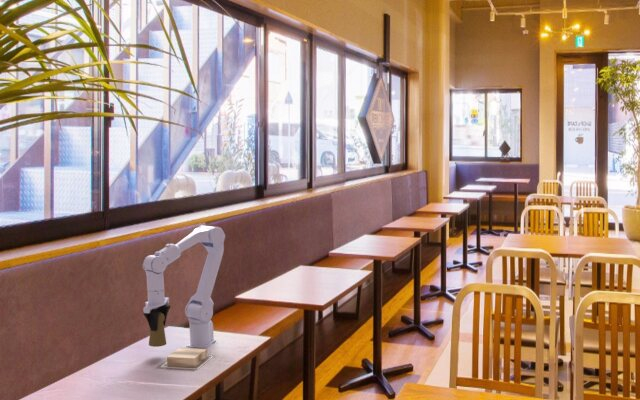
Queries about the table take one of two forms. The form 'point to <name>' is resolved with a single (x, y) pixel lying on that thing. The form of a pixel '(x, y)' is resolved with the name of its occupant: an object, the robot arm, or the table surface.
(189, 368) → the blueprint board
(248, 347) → the table surface
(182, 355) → the birch block
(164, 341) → the cork
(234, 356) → the table surface
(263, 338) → the table surface
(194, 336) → the robot arm
